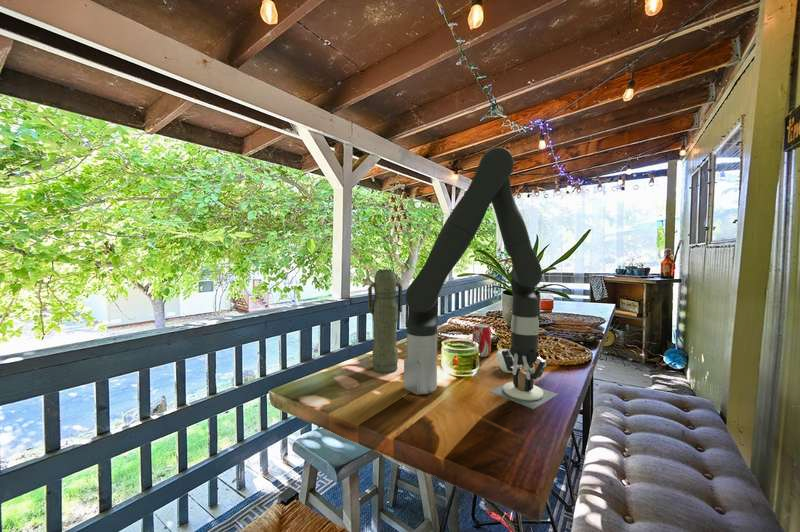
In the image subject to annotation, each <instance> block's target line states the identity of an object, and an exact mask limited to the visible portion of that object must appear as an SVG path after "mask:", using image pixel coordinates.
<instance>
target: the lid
mask: <svg viewBox="0 0 800 532" xmlns="http://www.w3.org/2000/svg"><path fill="white" fill-rule="evenodd" d="M526 379H527V378H526V371H525V370H521V371H518V388H516V387H514V384H513V382H510V381H509V383H508V382H505V383H504V384H505V385H504V384H503V385H504V386H503V391H504V393H506V394H507V395H508V396H510V397H513V398H516V399H520V400H526V401H534V400H539V399H541V398H542V397H543V390H542V389H543V388H542V389H541V387H539V386H537V385H535V384H533V389H532V390H531V391H529V392H527V391H526V390H525V389H526Z"/></svg>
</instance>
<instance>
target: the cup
mask: <svg viewBox="0 0 800 532" xmlns="http://www.w3.org/2000/svg"><path fill="white" fill-rule="evenodd" d="M505 350H510V348H509V349H508V348H507V349H506V348H505V349H499V350H497V352H496V353H495V358H496V361H497V363H498V366H499V368H500V370H501V371H503V372H504V373H508V374H509V373H511V374H513V373H512V372H511V371H508V370H507V367H506V364H505V361H504V358H503V355H502V351H505ZM512 359H513V362H514V358H513V356H512Z"/></svg>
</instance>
